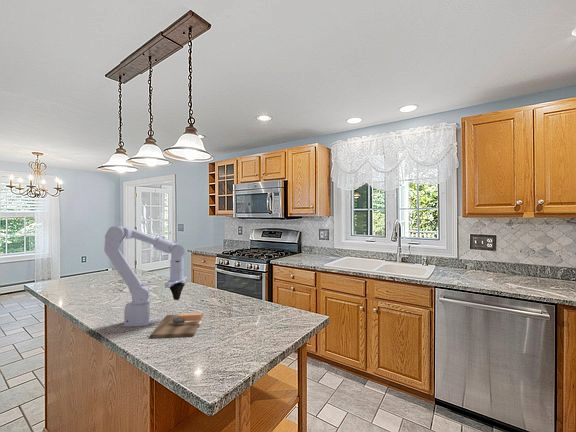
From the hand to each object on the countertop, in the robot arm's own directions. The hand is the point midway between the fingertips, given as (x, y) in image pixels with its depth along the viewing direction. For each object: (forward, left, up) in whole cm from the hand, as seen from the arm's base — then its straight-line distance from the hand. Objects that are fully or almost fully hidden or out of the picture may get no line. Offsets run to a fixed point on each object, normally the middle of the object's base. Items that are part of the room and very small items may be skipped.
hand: (176, 299), depth 129 cm
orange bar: (+7, -10, -6) cm, 13 cm away
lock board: (+4, -10, -8) cm, 14 cm away
